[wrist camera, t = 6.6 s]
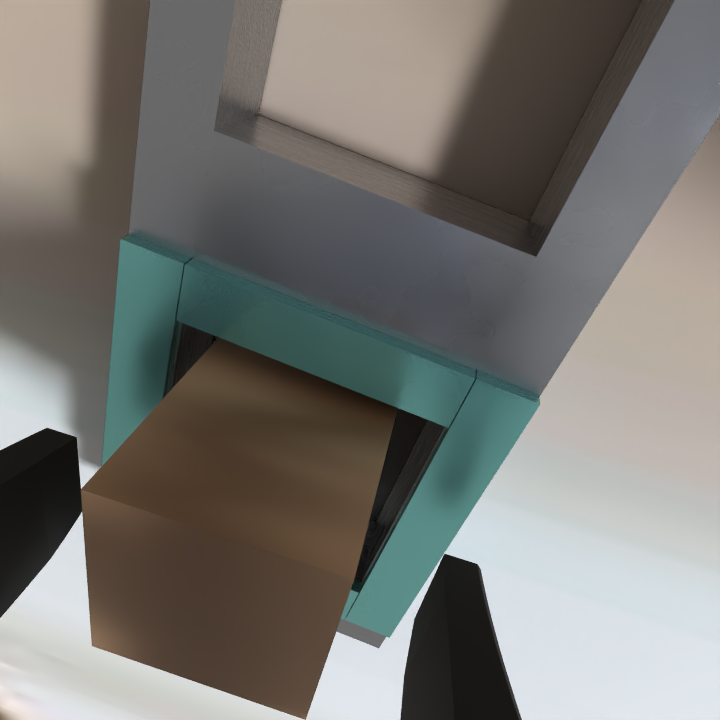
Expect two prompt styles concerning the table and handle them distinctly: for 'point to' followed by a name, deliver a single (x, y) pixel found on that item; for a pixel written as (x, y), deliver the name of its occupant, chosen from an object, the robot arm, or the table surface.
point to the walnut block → (235, 526)
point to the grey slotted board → (384, 259)
